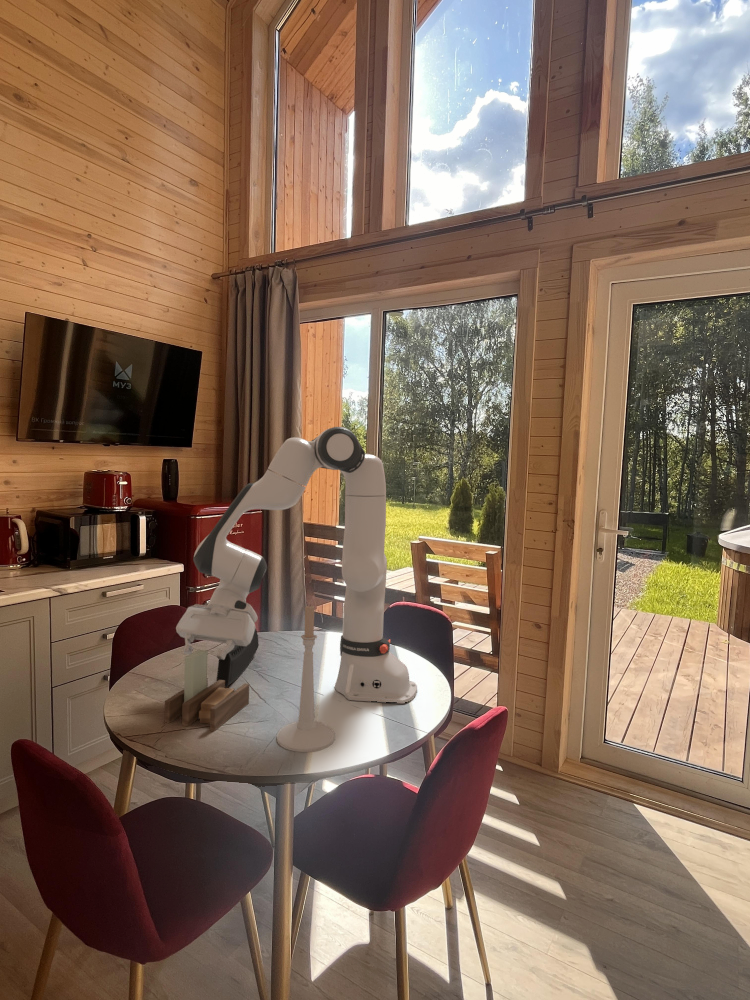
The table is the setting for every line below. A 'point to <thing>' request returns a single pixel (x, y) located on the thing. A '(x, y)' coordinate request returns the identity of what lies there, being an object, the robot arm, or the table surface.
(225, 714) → the walnut rack
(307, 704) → the candlestick
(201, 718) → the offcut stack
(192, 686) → the tall panel
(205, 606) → the robot arm
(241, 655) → the magazine
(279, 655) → the table surface
